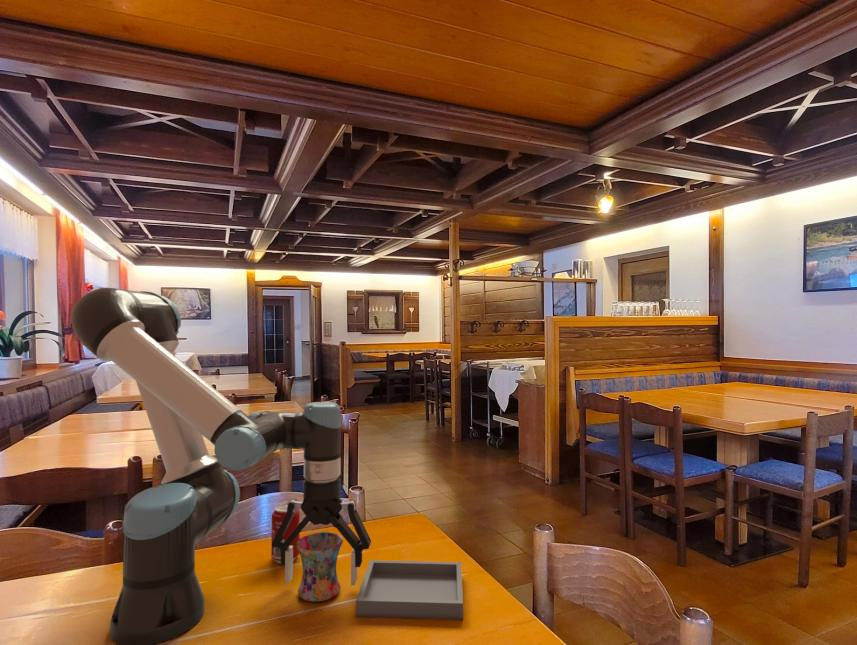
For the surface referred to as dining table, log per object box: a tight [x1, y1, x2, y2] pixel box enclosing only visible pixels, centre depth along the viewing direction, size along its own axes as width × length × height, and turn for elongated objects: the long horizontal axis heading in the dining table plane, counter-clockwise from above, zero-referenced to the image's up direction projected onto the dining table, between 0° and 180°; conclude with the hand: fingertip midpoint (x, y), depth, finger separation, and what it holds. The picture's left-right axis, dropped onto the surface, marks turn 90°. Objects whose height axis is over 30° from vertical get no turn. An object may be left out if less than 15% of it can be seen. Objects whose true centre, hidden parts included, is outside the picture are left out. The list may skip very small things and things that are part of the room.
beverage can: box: [270, 503, 301, 565], centre depth 113 cm, size 6×6×12 cm
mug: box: [296, 531, 344, 603], centre depth 100 cm, size 12×9×11 cm
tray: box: [355, 559, 464, 621], centre depth 98 cm, size 20×16×3 cm
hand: (321, 581), depth 100 cm, fingers open, 13 cm apart
